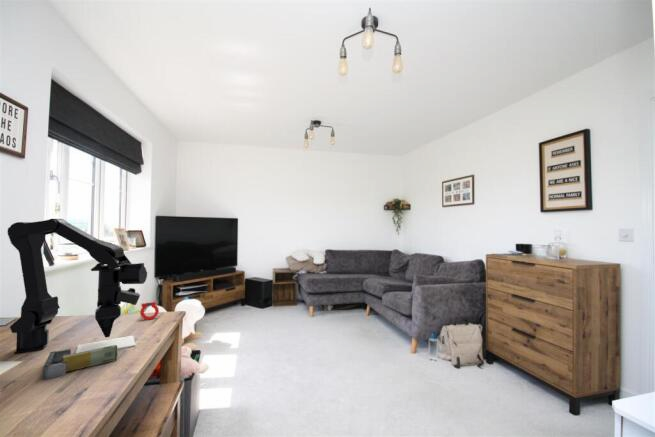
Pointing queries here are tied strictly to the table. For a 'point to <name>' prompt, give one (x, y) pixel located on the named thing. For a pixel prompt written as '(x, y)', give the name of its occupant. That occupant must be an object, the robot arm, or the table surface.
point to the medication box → (90, 358)
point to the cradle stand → (55, 369)
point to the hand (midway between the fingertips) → (107, 332)
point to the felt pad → (108, 344)
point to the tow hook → (144, 308)
